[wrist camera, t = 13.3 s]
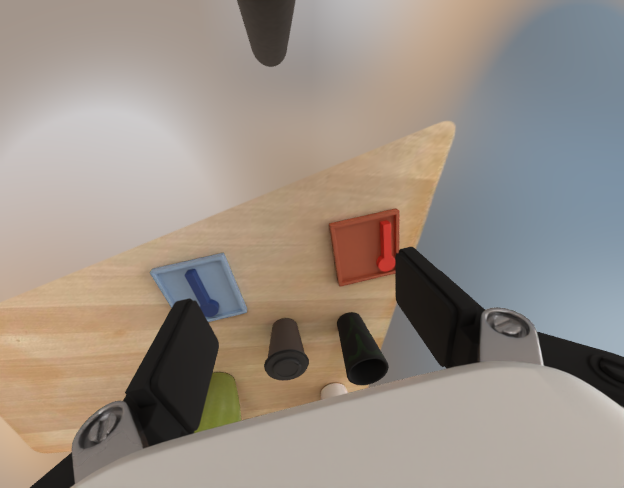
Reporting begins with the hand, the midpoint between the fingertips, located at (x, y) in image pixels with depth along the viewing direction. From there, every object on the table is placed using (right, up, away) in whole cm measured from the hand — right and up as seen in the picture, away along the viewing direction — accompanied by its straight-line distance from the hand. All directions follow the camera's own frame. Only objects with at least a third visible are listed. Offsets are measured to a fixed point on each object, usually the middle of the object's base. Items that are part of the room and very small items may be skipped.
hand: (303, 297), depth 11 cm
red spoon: (+14, +2, +33) cm, 36 cm away
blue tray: (-20, -6, +32) cm, 38 cm away
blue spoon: (-20, -6, +32) cm, 38 cm away
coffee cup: (-5, -15, +39) cm, 43 cm away
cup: (+9, -15, +42) cm, 45 cm away
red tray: (+10, +2, +33) cm, 35 cm away
